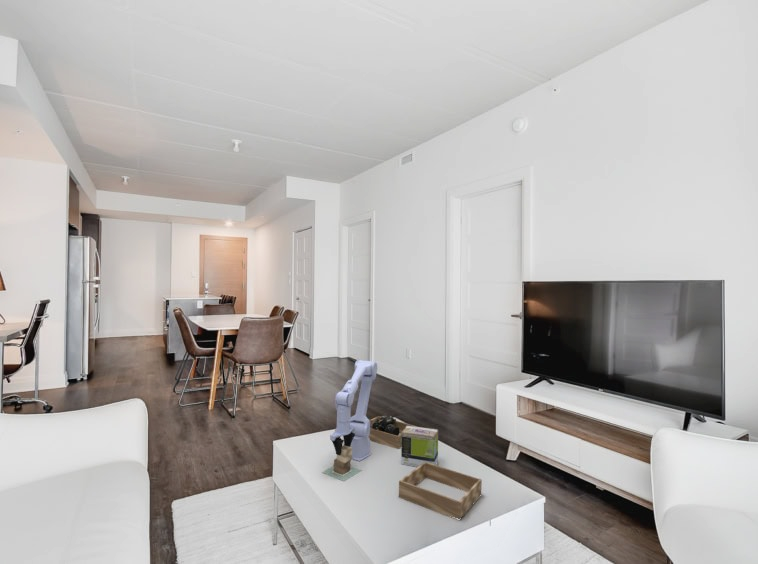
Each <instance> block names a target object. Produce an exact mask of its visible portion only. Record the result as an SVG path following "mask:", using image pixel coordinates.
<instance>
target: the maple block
mask: <svg viewBox="0 0 758 564" xmlns="http://www.w3.org/2000/svg"><path fill="white" fill-rule="evenodd" d="M336 458H337V461H340V462H343V463H346V462H348V461H350V460H353V459H352V448H351V447H348V446H345V445H344V444H342V450H341V455H337V454H336Z"/></svg>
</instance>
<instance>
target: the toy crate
mask: <svg viewBox="0 0 758 564" xmlns="http://www.w3.org/2000/svg"><path fill="white" fill-rule="evenodd" d="M424 479H428V480H432V481H434V482H437V483H440V484H443V485H446V486H449V487H452V488H455V489H458V488H459V489H458V490H461V489H462V490H461V491H464V490H465V491H464V492H466V493H465V494H464V495H463V496H462V497H461V498H460V499H459V500H456V499H454V498H450V497H448V496H445V495H443V494H440V493H436V492H434V491H431V490H428V489H426V488H423V487H421V486H417V485H418V484H419V483H420V482H422V481H423V480H424ZM482 481H483V480H482V479H481V478H477V477H474V476H471V475H468V474H465V473H462V472H458V471H455V470H453V469H449V468H445V467H443V466H439V465H437V464H436V465H433V464H430V463H427V462H424V463H423V464H421V465H420V466H419V467H415V469H413V470H412V471H410V472H409V473H408V474H407V475H405V476H404V477H403V478H401V479H400V480H399V481H398V498H400V499H403V500H405V501H408V502H410V503H413V504H416V505H418V506H420V507H424V508H426V509H429V510H431V511H434V512H437V513H439V514H441V513H442V515H444V516H446V515H448V516H447V517H449V516H451V517H450V518H452V517H455V518H458V519H460V518H461V517H462V516H463V515H464V514H465V513H466V511H467V510H468V509H469V508H470V507H471V506H472V505H473V506H474V504H475V503H476V502H477V501H478V500H479V499H478V498H480V497H481V496H482V485H483V483H482ZM467 491H468V492H467ZM480 495H481V496H480ZM477 499H478V500H477ZM476 500H477V501H476ZM475 501H476V502H475ZM474 502H475V503H474ZM473 503H474V504H473ZM473 506H472V507H473ZM472 507H471V508H472ZM471 508H470V509H471ZM470 509H469V510H470ZM469 510H468V511H469ZM466 514H467V513H466ZM466 514H465V515H466ZM465 515H464V516H465ZM464 516H463V517H464Z"/></svg>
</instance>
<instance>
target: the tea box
mask: <svg viewBox="0 0 758 564" xmlns="http://www.w3.org/2000/svg"><path fill="white" fill-rule="evenodd" d="M415 426H416V425H414V426H407V427H406V428H405V429H404V430H403V431H402V447H400V448H401V451H400V452H401V453H400V455H401V457H400V459H401V460H400V461H401V463H400V464H401V465H404V466H410V467H415V468H417V467H419V466H420V465H421V464H423V463H424V462H427V463H430V464H433V465H437V463H438V462H439V461H438V460H439V429H438V428H429V427H423V426H422V427H421V426H417V427H415Z"/></svg>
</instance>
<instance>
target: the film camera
mask: <svg viewBox="0 0 758 564" xmlns="http://www.w3.org/2000/svg"><path fill="white" fill-rule="evenodd" d="M381 417H382V418H380V420H376V421H375V422H374V423H373V425H372V429H375V430H379V431H382V432H386V433H389V434H393V435H396V436H398V435H400V434H399V432H400V430H399V428H398V427H397V426H395V425H394V423H395V422H396V421H397V419H396V418H394V417H393V416H391V415H390V416H388V415H382V416H381Z"/></svg>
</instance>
